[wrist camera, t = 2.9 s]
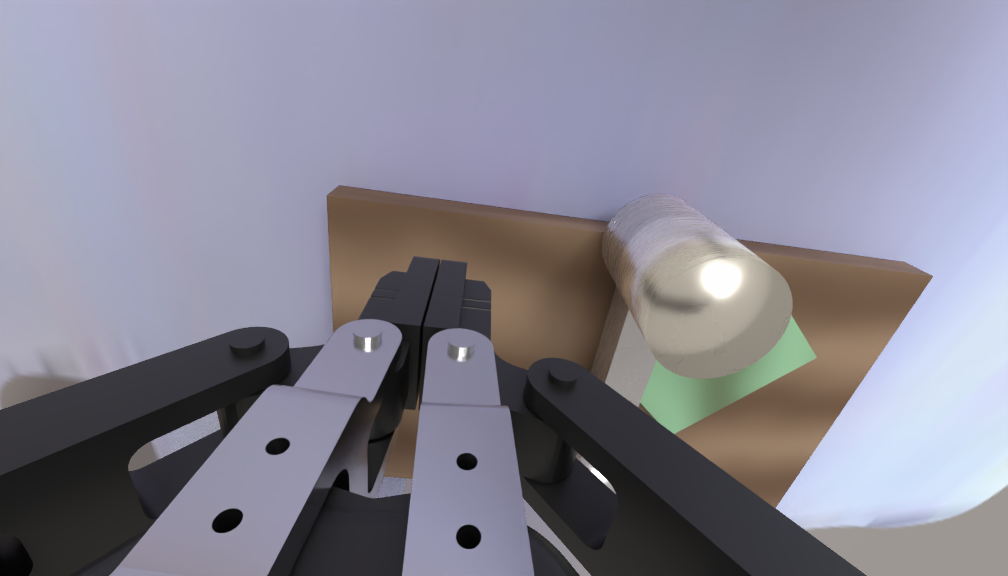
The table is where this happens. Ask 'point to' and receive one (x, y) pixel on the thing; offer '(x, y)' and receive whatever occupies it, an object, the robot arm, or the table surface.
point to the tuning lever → (683, 299)
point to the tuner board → (585, 304)
